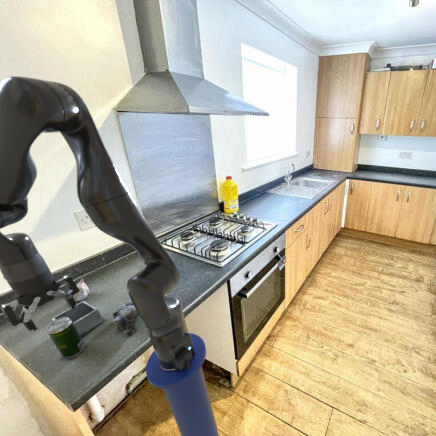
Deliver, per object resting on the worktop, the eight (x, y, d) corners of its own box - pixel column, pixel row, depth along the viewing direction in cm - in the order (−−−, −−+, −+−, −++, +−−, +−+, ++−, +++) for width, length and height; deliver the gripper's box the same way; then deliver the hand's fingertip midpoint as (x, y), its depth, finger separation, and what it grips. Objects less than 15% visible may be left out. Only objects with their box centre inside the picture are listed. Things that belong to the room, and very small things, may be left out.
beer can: (87, 340, 76) (73, 313, 71) (82, 354, 72) (66, 327, 67) (66, 347, 74) (50, 320, 69) (59, 362, 70) (42, 334, 65)
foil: (161, 296, 90) (128, 305, 75) (154, 325, 89) (119, 339, 74) (136, 290, 92) (99, 297, 78) (129, 318, 91) (90, 331, 76)
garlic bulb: (92, 298, 94) (84, 283, 90) (71, 307, 90) (62, 291, 86) (90, 290, 98) (83, 275, 95) (70, 298, 94) (62, 282, 91)
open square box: (103, 321, 83) (97, 308, 81) (72, 341, 76) (65, 328, 73) (89, 312, 87) (83, 300, 85) (58, 331, 80) (51, 318, 77)
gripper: (-9, 294, 53) (26, 342, 60) (68, 261, 64) (90, 305, 71) (-20, 284, 56) (14, 332, 63) (55, 254, 68) (77, 297, 74)
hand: (54, 317), depth 67 cm, fingers open, 8 cm apart
